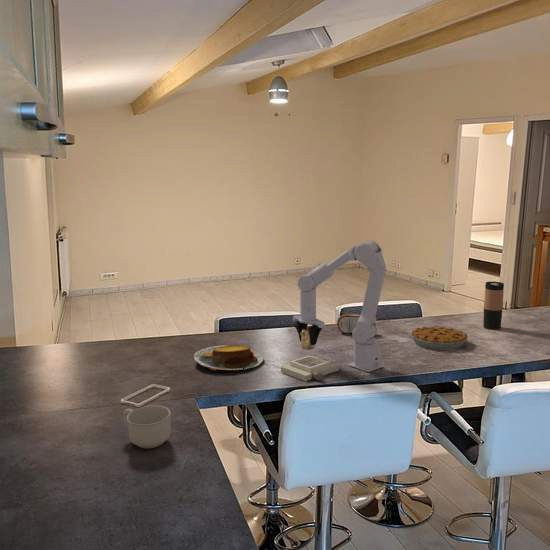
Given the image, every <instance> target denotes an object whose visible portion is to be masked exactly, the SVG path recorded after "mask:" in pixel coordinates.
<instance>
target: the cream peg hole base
mask: <svg viewBox="0 0 550 550" xmlns="http://www.w3.org/2000/svg"><path fill="white" fill-rule="evenodd" d="M339 367H340V366H339V364H338V363H334V362H331V361H328V360H326V359H325V360H324V359H323V358H320V357H316V356H312V355H306V356H303V357H299V358H297V359H294V360H290V362H289V364H288V363H287V364H286V365H283V366H281V367H280V373H281V372H282V374H284V373H285V374H284V375H287V376H289V375H290V376H289V377H292V376H293V378H295V379H298V380H300V379H301V381H302V382H308V380H309V381H312V380H315V381H318V382H321V381H323V379H324V376H325V375H329V374H332V373H335V372H338V371H339ZM337 370H338V371H337ZM334 371H335V372H334ZM331 372H332V373H331ZM328 373H329V374H328ZM311 379H312V380H311Z"/></svg>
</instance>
